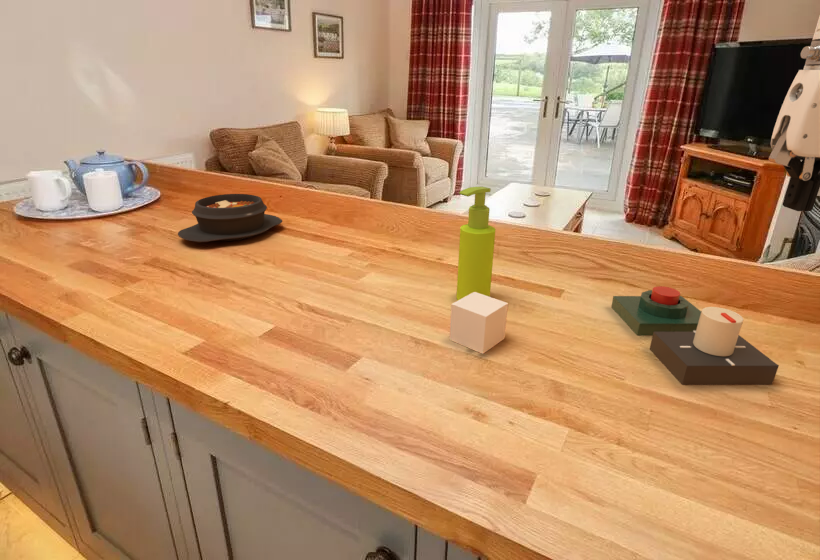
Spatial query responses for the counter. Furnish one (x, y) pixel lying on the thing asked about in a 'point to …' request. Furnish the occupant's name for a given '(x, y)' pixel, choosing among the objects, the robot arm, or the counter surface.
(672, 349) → the dial panel
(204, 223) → the casserole
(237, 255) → the counter surface
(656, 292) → the press top
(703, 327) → the lock knob
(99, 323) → the counter surface
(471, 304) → the pale pink cube
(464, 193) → the soap dispenser
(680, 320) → the button base
